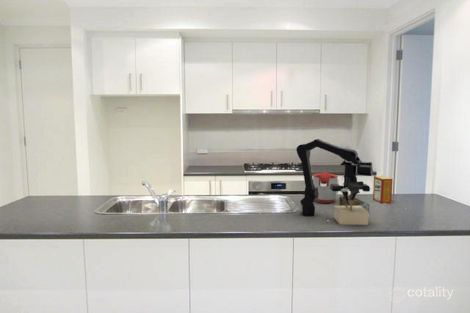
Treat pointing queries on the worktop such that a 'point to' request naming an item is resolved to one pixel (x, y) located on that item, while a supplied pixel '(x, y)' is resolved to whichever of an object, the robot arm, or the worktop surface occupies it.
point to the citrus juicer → (325, 187)
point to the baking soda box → (382, 189)
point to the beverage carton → (356, 203)
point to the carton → (352, 216)
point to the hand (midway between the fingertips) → (348, 203)
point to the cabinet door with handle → (345, 207)
